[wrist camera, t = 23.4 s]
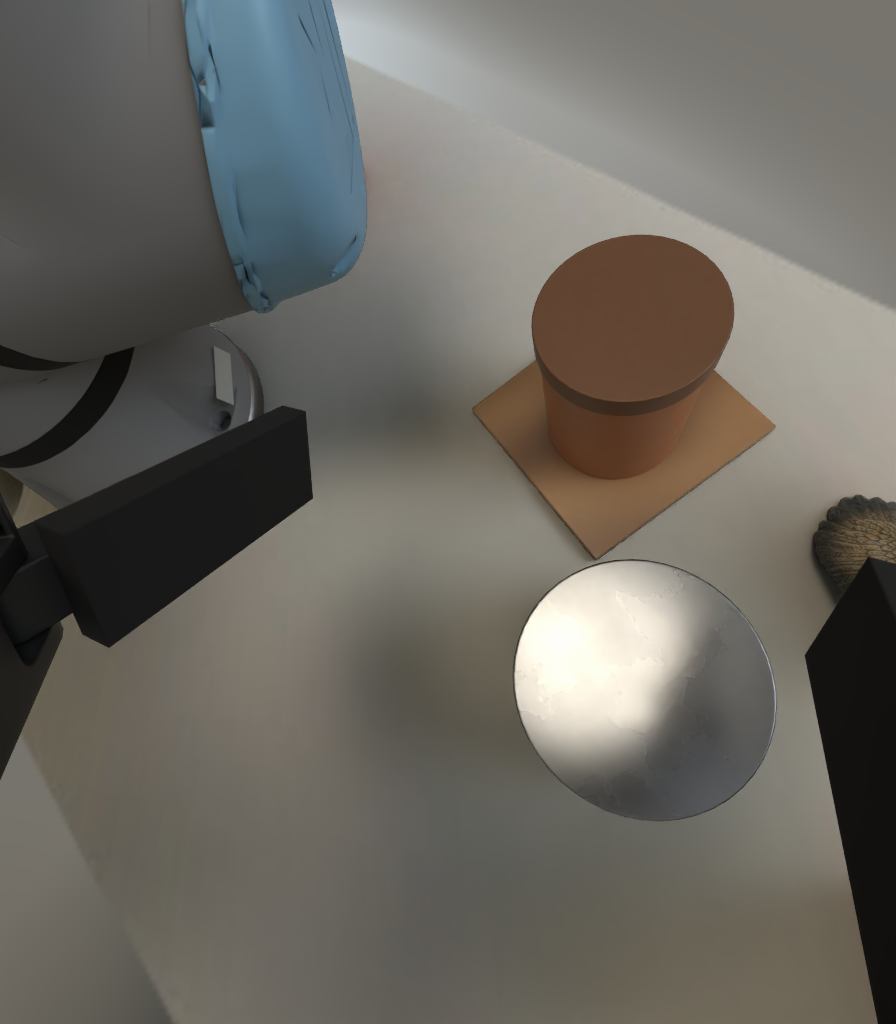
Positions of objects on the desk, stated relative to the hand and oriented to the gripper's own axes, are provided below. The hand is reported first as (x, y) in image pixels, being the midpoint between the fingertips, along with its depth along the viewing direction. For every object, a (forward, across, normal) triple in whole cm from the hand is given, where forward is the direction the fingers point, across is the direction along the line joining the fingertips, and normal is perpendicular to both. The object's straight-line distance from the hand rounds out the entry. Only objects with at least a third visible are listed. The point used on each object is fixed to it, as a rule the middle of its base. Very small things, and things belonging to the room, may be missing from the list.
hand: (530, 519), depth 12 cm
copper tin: (+17, 0, -3) cm, 17 cm away
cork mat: (+17, 0, -4) cm, 18 cm away
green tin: (+8, +4, -12) cm, 16 cm away
